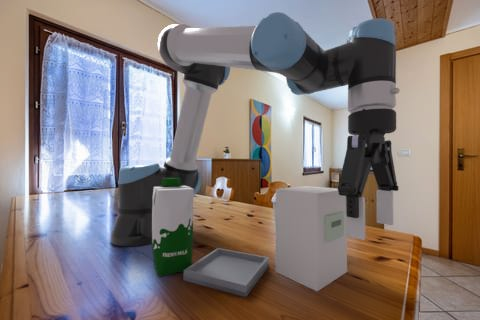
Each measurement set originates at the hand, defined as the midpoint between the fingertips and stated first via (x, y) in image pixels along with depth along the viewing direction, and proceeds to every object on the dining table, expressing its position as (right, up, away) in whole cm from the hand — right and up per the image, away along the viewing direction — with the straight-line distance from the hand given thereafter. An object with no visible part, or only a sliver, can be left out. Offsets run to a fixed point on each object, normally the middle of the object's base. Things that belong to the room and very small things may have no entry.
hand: (371, 230), depth 41 cm
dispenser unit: (-8, -12, +9) cm, 17 cm away
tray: (-26, -12, +8) cm, 30 cm away
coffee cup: (-10, -12, +24) cm, 29 cm away
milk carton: (-39, -12, +11) cm, 42 cm away
